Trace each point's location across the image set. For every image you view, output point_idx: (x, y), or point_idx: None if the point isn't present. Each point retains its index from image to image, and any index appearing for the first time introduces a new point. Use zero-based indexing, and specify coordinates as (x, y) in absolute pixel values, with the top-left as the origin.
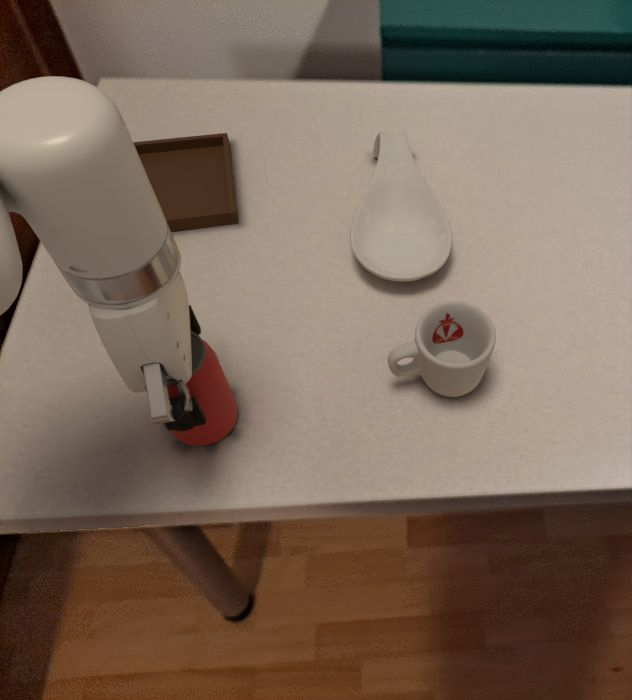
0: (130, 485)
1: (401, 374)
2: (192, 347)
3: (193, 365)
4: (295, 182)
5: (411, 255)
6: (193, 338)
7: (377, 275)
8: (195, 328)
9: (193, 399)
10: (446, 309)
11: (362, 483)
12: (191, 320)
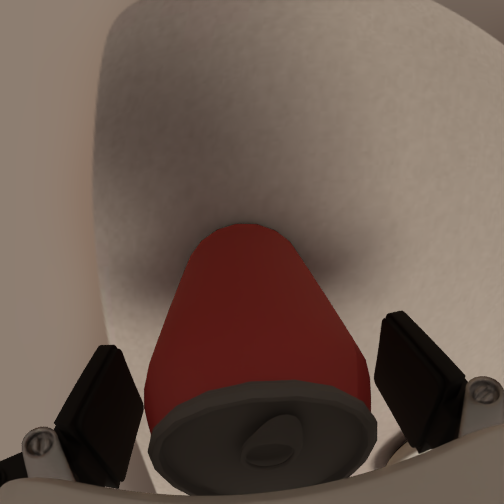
0: (126, 166)
1: None
2: (289, 482)
3: (224, 487)
4: None
5: (413, 456)
6: (322, 478)
7: (400, 458)
8: (385, 397)
9: (111, 485)
10: None
11: (146, 436)
12: (399, 421)
